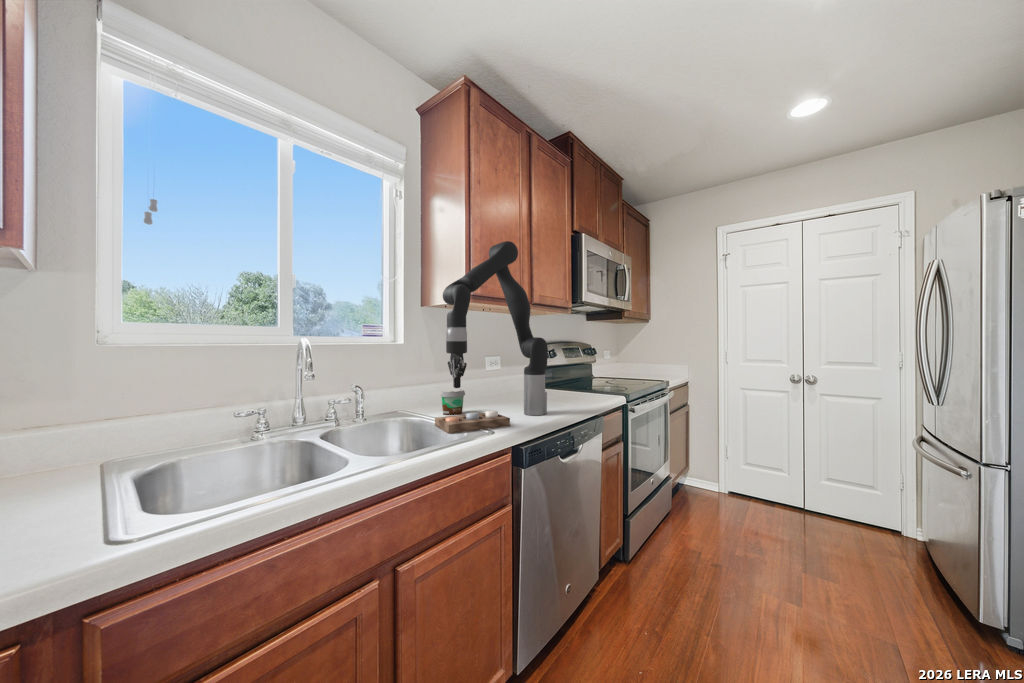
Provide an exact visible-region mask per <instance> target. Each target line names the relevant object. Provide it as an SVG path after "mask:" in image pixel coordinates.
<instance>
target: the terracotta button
mask: <svg viewBox="0 0 1024 683" xmlns="http://www.w3.org/2000/svg"><path fill="white" fill-rule="evenodd" d="M445 417H446V418H445V421H446V422H455V421H459V417H447V416H445Z"/></svg>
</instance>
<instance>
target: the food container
mask: <svg viewBox="0 0 1024 683" xmlns="http://www.w3.org/2000/svg"><path fill="white" fill-rule="evenodd" d="M465 396H466V392H465V390H464V389H462V388H459V390H458V391H452V390H451V391H441V393H440V397H441V404H442V405H441V406H442V408H441V409H442V415H443V416H457V415H463V408H464V406H463V405H464V397H465Z"/></svg>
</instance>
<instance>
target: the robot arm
mask: <svg viewBox="0 0 1024 683" xmlns="http://www.w3.org/2000/svg"><path fill="white" fill-rule="evenodd" d="M518 256H519V250H518V247H517V245H516V244H515V243H514V242H513V241H509V240H506V241H501V242H499V243H496V244H494V245H492V246H491V247H490V248H489V250H488V257H489V258H487V259H486V260H484V261H483V262H481V263H480V264H478V265H476V266H474V267H473V268H472V269H471V270H469V271H468V272H467V273H465V275H463V276H462V277H461V278H459V279H457V280H455V281H453V282H451V284H449V285H447V286H446V287H445V289H443V291H442V299H443V301H444V303H446V304H447V305H449V306H453V307H452V310H450V311H449V312H447V314H446V332H445V334H446V335H445V337H446V338H445V340H446V341H445V342H446V343H445V344H446V345H445V347H446V348H445V351H446V354H450V358H449V361H447V365H448V370H449V374H450V375H451V376H452V380H453V383H452V384H453V388H454V389H461V378H462V377H464V374H465V372H466V368H467V362H464V361H465V360H464V354H467V353H468V332H467V331H468V330H467V314H468V311H469V307H470V303H471V294H472V293H474V292H475V291H478V289H480V288H481V287H482V286H483V285H484V284H485V283H486V282H487V281H488V280H489V279H490V278H492V277H494V276H496V277H497V280H498V282H499V284H500V287H501V290H502V294H503V296H504V298H505V302H506V305H507V307H508V311H509V313H510V316H511V319H512V322H513V325H514V329H515V331H516V332H515V333H516V336H517V341H518V345H519V350H520V352H521V354H522V355H523V357H525V358H527V359H529V364H528V365H527V366H525V367H524V368H523V414H524V415H526V416H542V415H545V414H548V392H547V391H546V370H547V366H548V356H549V346H548V343H547V341H546V339H545V338H543V337H538V336H537V337H534V336H533V332H532V330H531V327H530V326H531V324H530V318H531V304H530V301H529V298H528V294H527V292H526V290H525V289H524V288H523V286H521V284H520V283H519V282H518V281H517V280H516V279H515V278H514V277H513V275H512V274H511V271H510V269H509V265H511V264H513V263H515V262H516V260H517V259H518Z"/></svg>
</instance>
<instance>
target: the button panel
mask: <svg viewBox="0 0 1024 683" xmlns="http://www.w3.org/2000/svg"><path fill="white" fill-rule="evenodd" d="M478 413H479V419H474V420H467V419H466V414H459V415H446V416H439V417H434V426H435V427H437V428H438V429H440V430H442V431H443V432H445V433H446V434H455V433H457V434H458V433H466V432H473V431H479V430H480V429H483V430H489V429H488V428H491V429H497V428H498V429H499V428H506V427H511V426H510V425H511V418H510V417H508V416H505V415H504V414H503V415H502V414H499V413H498V417H493V418H487V417H485V412H478ZM446 417H459V421H455V422H446V421H445V418H446ZM480 431H481V430H480Z"/></svg>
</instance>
